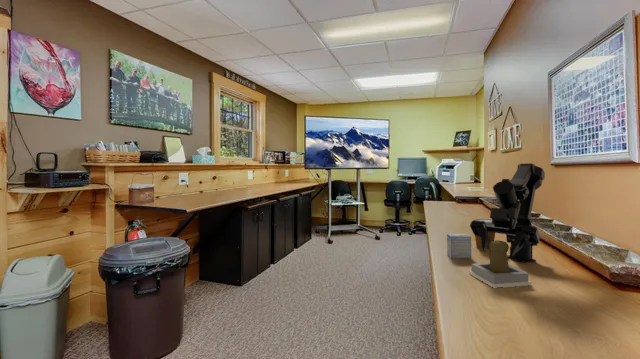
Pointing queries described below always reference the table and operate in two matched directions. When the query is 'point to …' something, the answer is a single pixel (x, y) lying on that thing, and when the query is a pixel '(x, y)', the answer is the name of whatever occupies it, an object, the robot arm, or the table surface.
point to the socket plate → (500, 276)
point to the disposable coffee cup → (490, 234)
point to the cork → (499, 257)
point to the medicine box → (459, 245)
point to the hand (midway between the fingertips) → (497, 253)
